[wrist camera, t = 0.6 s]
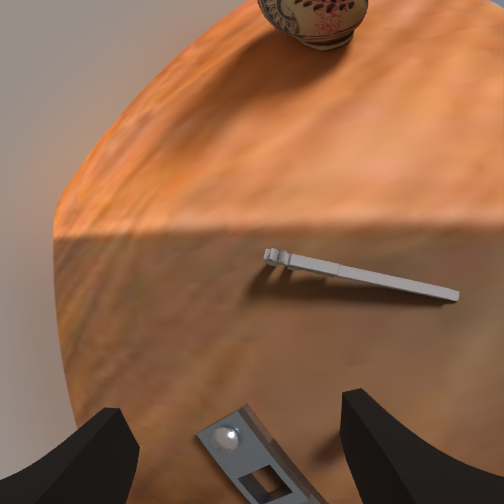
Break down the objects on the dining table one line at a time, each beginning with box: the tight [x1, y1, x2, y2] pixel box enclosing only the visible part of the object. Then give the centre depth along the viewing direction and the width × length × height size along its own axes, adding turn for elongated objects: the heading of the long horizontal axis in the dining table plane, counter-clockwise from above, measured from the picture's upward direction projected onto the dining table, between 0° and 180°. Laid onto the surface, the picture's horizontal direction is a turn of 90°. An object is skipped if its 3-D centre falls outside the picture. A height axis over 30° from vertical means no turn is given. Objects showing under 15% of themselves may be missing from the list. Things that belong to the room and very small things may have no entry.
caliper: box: [264, 248, 459, 301], centre depth 26 cm, size 20×1×6 cm, turn 76°
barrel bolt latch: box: [197, 404, 328, 504], centre depth 26 cm, size 18×6×4 cm, turn 37°
